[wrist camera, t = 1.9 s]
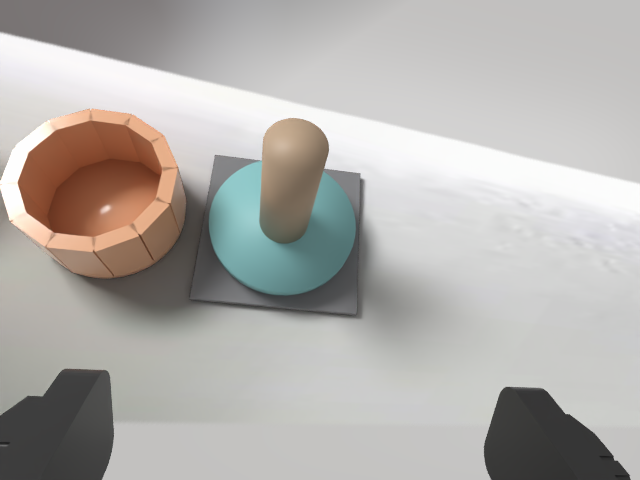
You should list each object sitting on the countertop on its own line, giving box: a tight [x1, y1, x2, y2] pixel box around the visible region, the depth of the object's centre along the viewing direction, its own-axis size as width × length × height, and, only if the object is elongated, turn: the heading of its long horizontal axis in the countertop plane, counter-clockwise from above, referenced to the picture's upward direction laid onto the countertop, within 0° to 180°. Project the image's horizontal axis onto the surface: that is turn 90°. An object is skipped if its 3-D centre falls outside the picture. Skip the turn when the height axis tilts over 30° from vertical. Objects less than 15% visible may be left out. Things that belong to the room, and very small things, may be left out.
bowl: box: [0, 109, 187, 279], centre depth 26 cm, size 9×9×4 cm
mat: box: [190, 155, 360, 315], centre depth 29 cm, size 10×10×1 cm
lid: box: [209, 118, 356, 296], centre depth 25 cm, size 9×9×9 cm
